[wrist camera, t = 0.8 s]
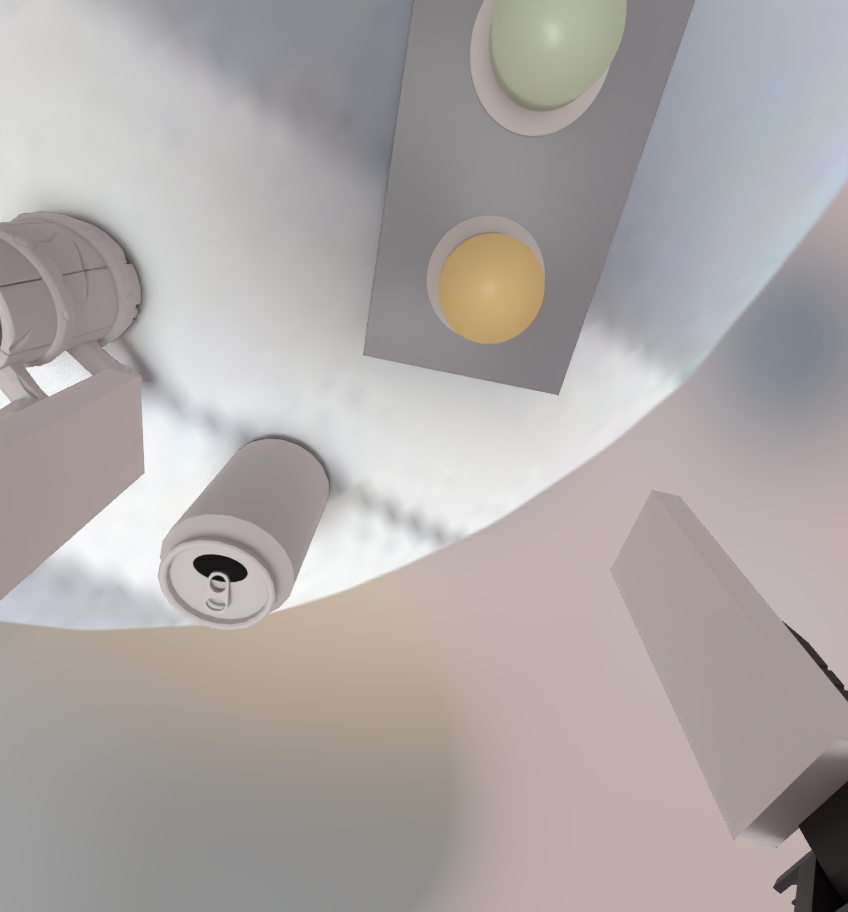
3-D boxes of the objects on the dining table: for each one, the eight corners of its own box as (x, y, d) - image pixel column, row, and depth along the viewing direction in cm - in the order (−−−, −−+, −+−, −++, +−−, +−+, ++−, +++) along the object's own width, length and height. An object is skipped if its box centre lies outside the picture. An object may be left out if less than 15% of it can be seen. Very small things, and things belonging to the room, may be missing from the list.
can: (338, 445, 35) (291, 549, 24) (325, 528, 38) (280, 652, 28) (233, 423, 34) (139, 520, 24) (230, 509, 38) (146, 628, 27)
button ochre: (450, 221, 23) (451, 222, 22) (550, 243, 24) (559, 246, 22) (430, 324, 26) (429, 332, 24) (521, 343, 26) (526, 352, 24)
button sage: (507, -57, 19) (513, -85, 17) (629, -26, 19) (648, -50, 17) (476, 97, 21) (478, 87, 19) (585, 123, 21) (598, 115, 20)
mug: (93, 188, 28) (-124, 177, 17) (206, 374, 33) (91, 455, 22) (-7, 241, 29) (-264, 259, 19) (115, 411, 34) (-34, 503, 24)
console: (494, -505, 17) (504, -645, 14) (808, -407, 18) (877, -523, 15) (369, 342, 31) (362, 356, 28) (548, 379, 32) (559, 396, 29)
